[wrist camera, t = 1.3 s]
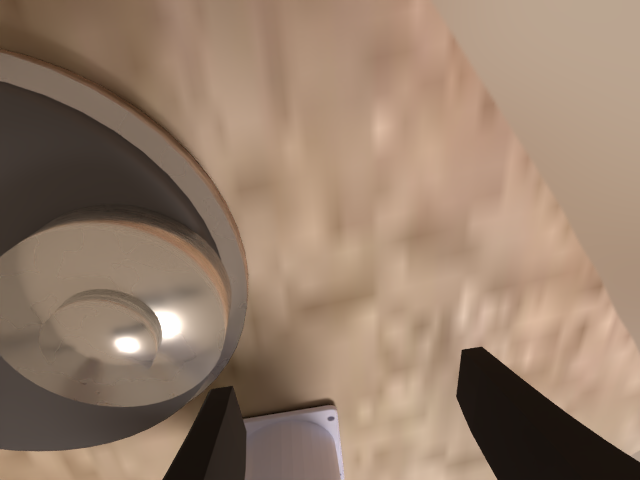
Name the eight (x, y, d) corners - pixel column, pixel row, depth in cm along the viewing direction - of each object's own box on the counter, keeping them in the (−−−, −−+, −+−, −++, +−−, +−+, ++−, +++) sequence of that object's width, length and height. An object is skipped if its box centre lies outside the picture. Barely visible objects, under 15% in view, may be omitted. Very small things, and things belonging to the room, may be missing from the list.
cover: (247, 350, 18) (241, 408, 15) (74, 377, 18) (32, 442, 15) (206, 190, 14) (187, 224, 11) (-20, 219, 14) (-105, 262, 11)
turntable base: (276, 390, 24) (275, 405, 23) (-59, 443, 23) (-75, 462, 22) (191, 13, 14) (184, 9, 13) (-412, 73, 13) (-475, 74, 12)
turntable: (258, 398, 22) (256, 419, 21) (-69, 450, 21) (-92, 476, 20) (148, -22, 12) (132, -33, 11) (-478, 36, 11) (-580, 32, 10)
